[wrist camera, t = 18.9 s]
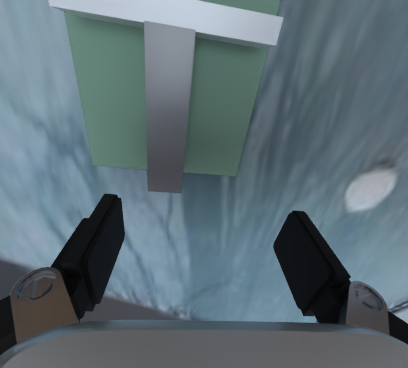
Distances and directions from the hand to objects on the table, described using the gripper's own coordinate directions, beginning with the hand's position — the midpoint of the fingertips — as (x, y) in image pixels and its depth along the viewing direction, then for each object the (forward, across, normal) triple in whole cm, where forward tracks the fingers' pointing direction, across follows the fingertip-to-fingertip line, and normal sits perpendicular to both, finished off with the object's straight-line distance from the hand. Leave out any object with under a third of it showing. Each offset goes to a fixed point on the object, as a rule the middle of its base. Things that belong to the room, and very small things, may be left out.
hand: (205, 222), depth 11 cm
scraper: (+12, +3, -3) cm, 12 cm away
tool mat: (+12, +3, -5) cm, 14 cm away
